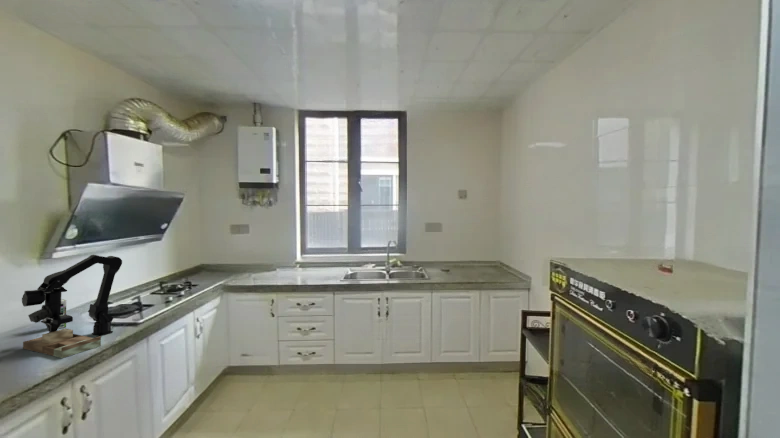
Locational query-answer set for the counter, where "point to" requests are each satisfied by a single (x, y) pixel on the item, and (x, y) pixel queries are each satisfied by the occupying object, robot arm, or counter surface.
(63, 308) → the syrup box
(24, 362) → the counter surface
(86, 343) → the trap deck
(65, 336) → the maple slab
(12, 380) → the counter surface
